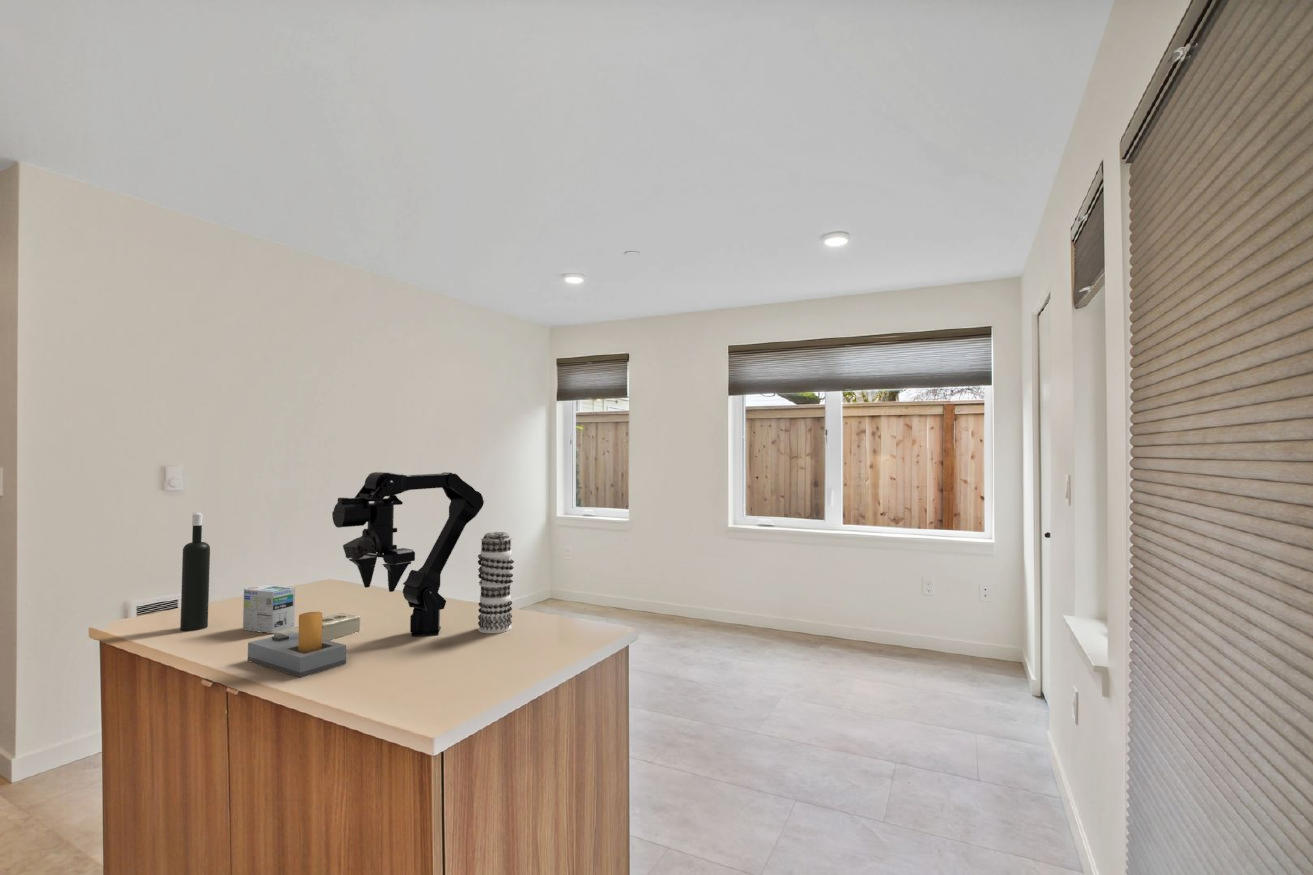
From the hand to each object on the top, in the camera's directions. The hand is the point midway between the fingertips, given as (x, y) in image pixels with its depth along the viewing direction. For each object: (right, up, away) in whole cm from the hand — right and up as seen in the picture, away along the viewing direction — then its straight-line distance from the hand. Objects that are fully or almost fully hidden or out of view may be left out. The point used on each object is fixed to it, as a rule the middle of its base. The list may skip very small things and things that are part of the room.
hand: (379, 589), depth 151 cm
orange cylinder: (-7, -11, -17) cm, 21 cm away
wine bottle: (-54, -13, +12) cm, 57 cm away
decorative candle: (+24, -14, +14) cm, 31 cm away
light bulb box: (-34, -13, +12) cm, 38 cm away
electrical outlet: (-17, -13, +4) cm, 21 cm away
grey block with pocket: (-12, -13, -14) cm, 22 cm away
